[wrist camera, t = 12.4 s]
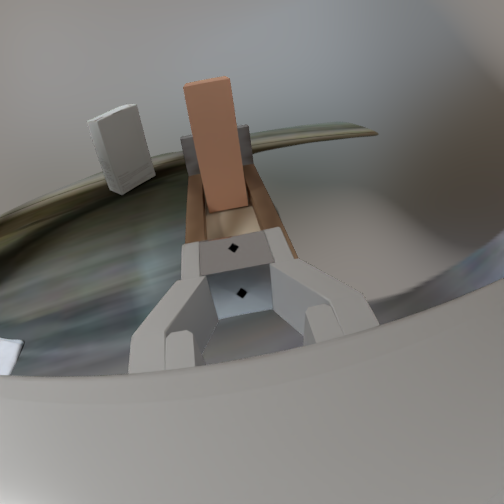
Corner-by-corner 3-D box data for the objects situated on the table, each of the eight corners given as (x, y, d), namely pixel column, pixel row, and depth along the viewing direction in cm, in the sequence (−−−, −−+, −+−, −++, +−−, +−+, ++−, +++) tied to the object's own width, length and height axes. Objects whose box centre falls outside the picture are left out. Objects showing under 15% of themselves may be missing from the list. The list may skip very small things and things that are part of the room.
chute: (192, 314, 25) (162, 234, 20) (192, 187, 46) (180, 136, 41) (304, 292, 26) (302, 207, 21) (253, 175, 47) (247, 124, 41)
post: (209, 213, 37) (183, 87, 27) (207, 192, 42) (185, 83, 32) (248, 205, 37) (229, 78, 27) (242, 186, 42) (225, 76, 32)
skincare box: (142, 172, 56) (123, 104, 47) (157, 176, 52) (138, 101, 43) (107, 191, 51) (84, 120, 42) (120, 197, 48) (96, 118, 39)
